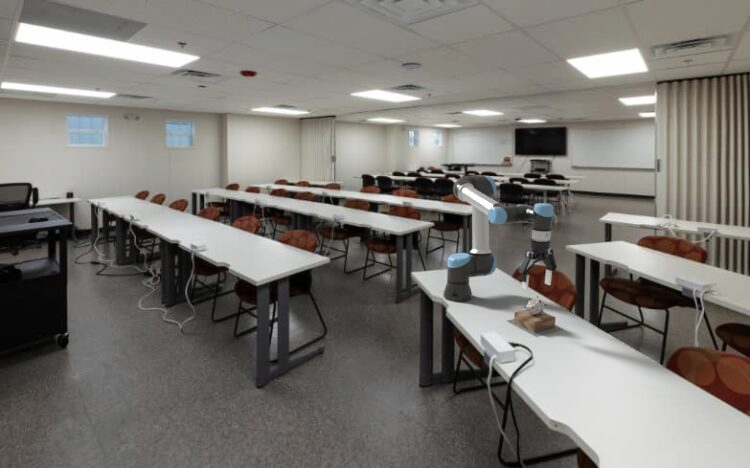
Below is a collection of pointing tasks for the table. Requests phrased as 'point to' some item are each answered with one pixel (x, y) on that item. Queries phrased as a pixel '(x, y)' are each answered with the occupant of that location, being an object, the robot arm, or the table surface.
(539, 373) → the table surface
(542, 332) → the build mat
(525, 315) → the base block
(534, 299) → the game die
